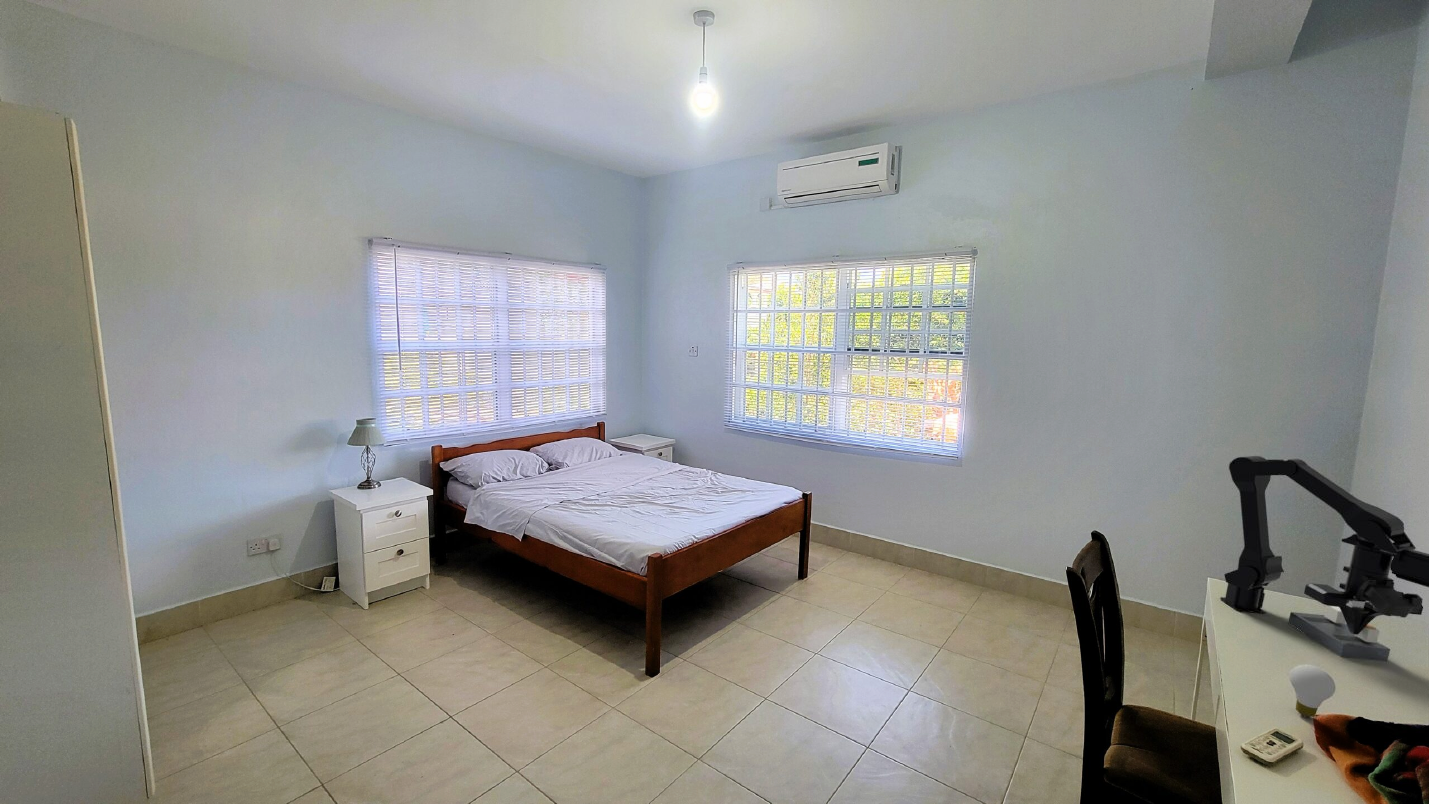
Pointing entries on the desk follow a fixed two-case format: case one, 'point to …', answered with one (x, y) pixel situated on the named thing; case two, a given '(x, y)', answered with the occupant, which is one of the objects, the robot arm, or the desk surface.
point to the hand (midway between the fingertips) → (1353, 633)
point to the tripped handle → (1369, 634)
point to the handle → (1334, 614)
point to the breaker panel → (1338, 637)
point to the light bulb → (1311, 688)
